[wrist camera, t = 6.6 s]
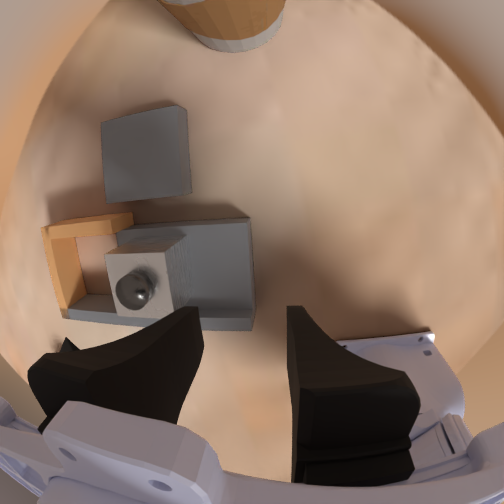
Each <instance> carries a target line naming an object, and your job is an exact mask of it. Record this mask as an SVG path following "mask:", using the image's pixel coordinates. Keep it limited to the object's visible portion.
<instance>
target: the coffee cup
mask: <svg viewBox="0 0 504 504" xmlns="http://www.w3.org/2000/svg"><path fill="white" fill-rule="evenodd" d="M157 1H158V2H160V3H161V4H162V5H163V6H164V7H165V8H166V9H167V10H168V11H169V12H170V13H171V14H172V15H173V16H174V17H176V18H177V19H178V20H179V21H180V22H181V23H182V24H183V25H184V26H185V27H186V28H187V29H189V30H191V32H192V33H193V34H194V35H195V36H196V37H197V38H198V39H199V40H200V41H201V42H202V43H203V44H205V45H206V46H208V47H209V48H211V49H215V50H218V51H221V52H230V53H235V52H244V51H248V50H251V49H254V48H257V47H259V46H261V45H263V44H265V43H266V42H268V41H269V40H270V39H271V38H272V37H273V36H275V34H276V33H277V31H278V29H279V28H280V25H281V21H282V16H283V9H284V4H285V0H157Z"/></svg>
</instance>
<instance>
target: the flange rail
mask: <svg viewBox="0 0 504 504" xmlns="http://www.w3.org/2000/svg"><path fill="white" fill-rule="evenodd" d="M41 232H42V237H43V243H44V248H45V253H46V257H47V262H48V266H49V271H50V275H51V279H52V283H53V286H54V290H55V294H56V297H57V301H58V304H59V307H60V311H61V314H62V317H63V318H65V319H72V320H80V321H88V322H97V323H106V324H115V325H126V326H138V327H147V326H149V325H151V324H153V323H155V322H156V321H158V320H160V319H156V318H140V317H126V316H118V315H117V311H116V307H115V303H114V299H113V295H97V294H87V292H86V288H85V284H84V279H83V275H82V271H81V266H80V261H79V257H78V252H77V246H76V241H75V237H82V236H95V235H108V234H114V233H116V236H117V243H118V247H119V246H120V245H122V244H124V243H126V242H128V241H130V240H132V239H133V238H143V237H162V236H181V235H187V239H188V247H189V256H190V264H191V272H192V279H193V286H194V293H193V294H192V296H191V297H190V299H189V300H188V302H187V303H186V305H185V306H198V310H199V317H200V323H201V329H202V330H211V331H252V328H253V322H254V317H255V312H256V302H255V286H254V269H253V253H252V237H251V221H250V218H231V219H211V220H194V221H178V222H164V223H150V224H137V225H134V221H133V213H132V212H127V213H117V214H108V215H100V216H91V217H83V218H75V219H68V220H63V221H60V222H57V223H54V224H51V225H48V226H45V227H42V228H41Z"/></svg>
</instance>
